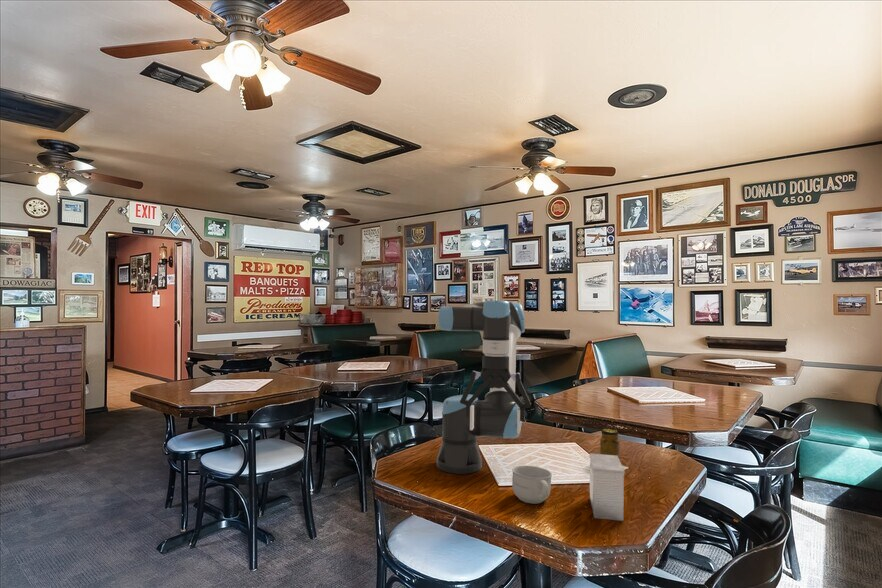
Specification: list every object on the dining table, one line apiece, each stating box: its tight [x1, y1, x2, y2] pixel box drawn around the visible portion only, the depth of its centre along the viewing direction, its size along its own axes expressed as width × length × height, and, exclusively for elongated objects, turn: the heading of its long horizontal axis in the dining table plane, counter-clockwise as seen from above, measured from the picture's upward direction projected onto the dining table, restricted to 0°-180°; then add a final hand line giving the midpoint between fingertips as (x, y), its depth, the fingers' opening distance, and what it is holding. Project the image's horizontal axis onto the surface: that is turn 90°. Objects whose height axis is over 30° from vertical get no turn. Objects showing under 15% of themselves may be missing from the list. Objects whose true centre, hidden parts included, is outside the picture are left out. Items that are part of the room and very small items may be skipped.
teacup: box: [511, 465, 553, 505], centre depth 128 cm, size 14×11×8 cm
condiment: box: [599, 428, 630, 471], centre depth 156 cm, size 7×8×12 cm
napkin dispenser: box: [589, 452, 626, 522], centre depth 123 cm, size 8×12×13 cm, turn 167°
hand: (494, 430), depth 130 cm, fingers open, 12 cm apart
